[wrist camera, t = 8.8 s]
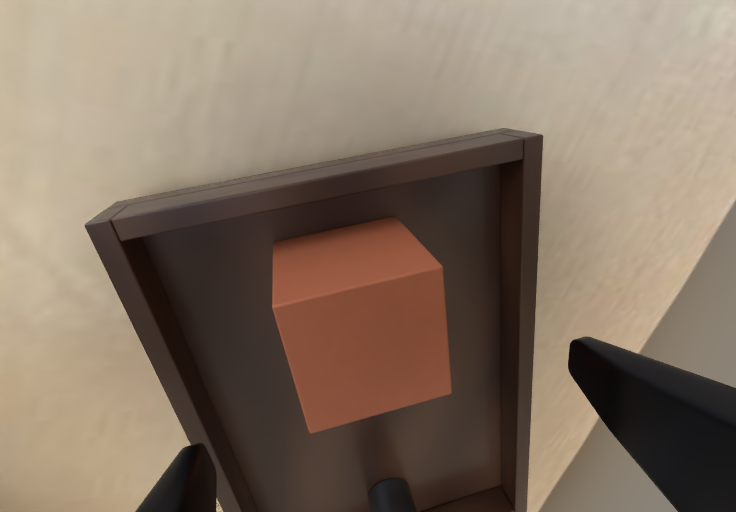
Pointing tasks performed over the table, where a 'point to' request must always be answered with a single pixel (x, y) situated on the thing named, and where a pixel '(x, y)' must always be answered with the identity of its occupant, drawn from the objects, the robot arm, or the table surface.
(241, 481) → the tray
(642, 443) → the robot arm
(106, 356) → the table surface
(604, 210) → the table surface
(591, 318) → the table surface
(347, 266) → the block
